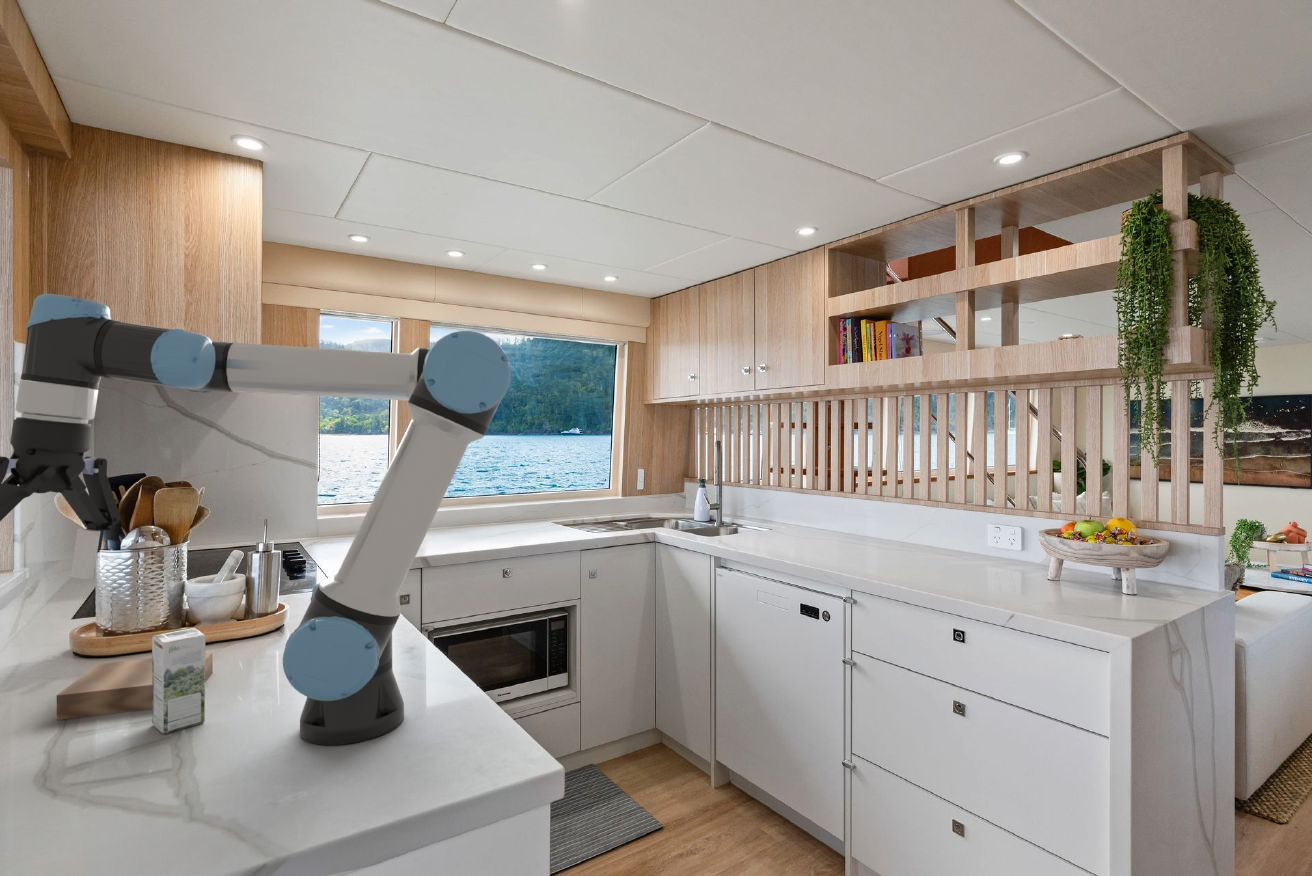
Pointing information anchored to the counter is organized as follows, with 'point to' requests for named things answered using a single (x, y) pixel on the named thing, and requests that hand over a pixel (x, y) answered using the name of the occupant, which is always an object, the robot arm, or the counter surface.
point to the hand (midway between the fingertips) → (29, 586)
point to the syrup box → (178, 680)
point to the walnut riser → (112, 689)
